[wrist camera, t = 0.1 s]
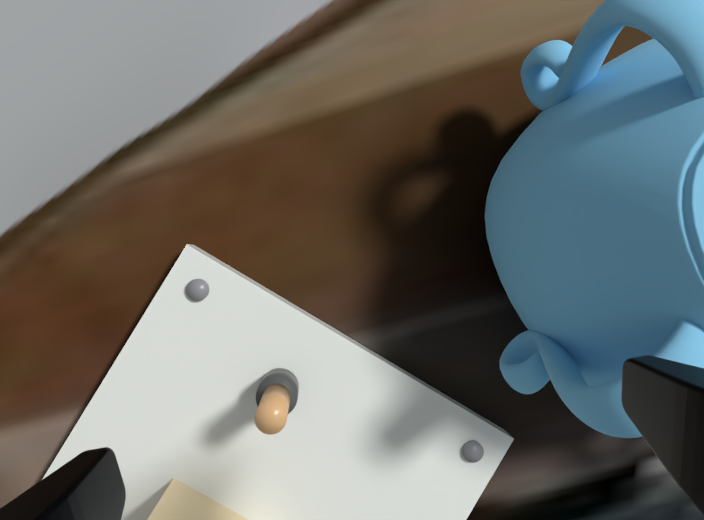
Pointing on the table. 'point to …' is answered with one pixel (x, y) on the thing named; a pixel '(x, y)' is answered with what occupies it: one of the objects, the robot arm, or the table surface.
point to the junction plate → (277, 413)
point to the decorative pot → (605, 209)
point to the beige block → (189, 506)
